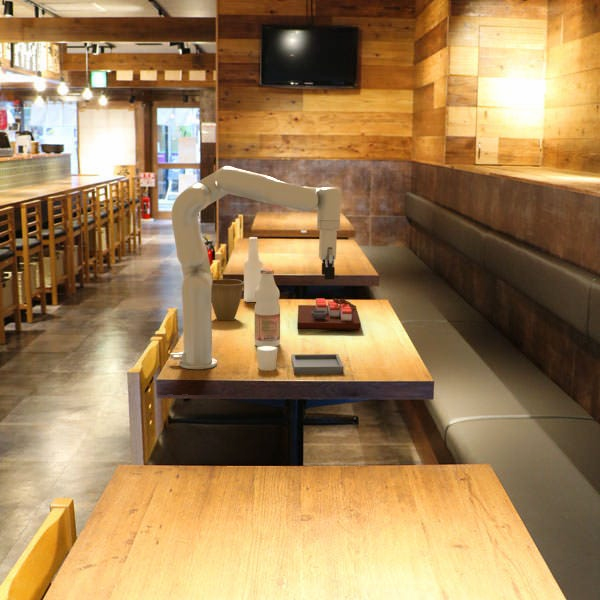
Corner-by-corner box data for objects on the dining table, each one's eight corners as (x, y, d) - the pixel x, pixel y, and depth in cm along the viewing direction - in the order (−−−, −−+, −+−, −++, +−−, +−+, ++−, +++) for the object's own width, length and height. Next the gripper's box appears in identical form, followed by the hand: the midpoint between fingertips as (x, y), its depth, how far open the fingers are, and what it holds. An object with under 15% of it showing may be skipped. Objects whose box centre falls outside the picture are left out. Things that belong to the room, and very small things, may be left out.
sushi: (355, 315, 361) (356, 288, 358) (360, 334, 326) (361, 304, 324) (298, 315, 361) (298, 288, 358) (297, 333, 326) (297, 303, 324)
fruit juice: (249, 344, 307) (248, 269, 302) (266, 340, 314) (266, 266, 309) (267, 349, 301) (267, 272, 296) (285, 344, 308) (285, 269, 302)
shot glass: (266, 364, 281) (266, 344, 279) (281, 367, 276) (281, 347, 275) (252, 368, 275) (252, 348, 274) (268, 372, 271) (268, 351, 270)
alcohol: (265, 300, 392) (265, 236, 386) (260, 303, 383) (259, 238, 377) (247, 299, 394) (246, 236, 388) (241, 302, 385) (241, 238, 379)
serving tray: (294, 374, 269) (294, 367, 268) (291, 361, 284) (291, 354, 284) (343, 373, 270) (343, 366, 269) (337, 361, 285) (338, 353, 285)
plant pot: (217, 324, 340) (217, 285, 337) (202, 317, 353) (202, 280, 350) (249, 320, 348) (249, 282, 345) (234, 314, 360) (234, 277, 357)
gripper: (314, 222, 281) (314, 272, 284) (319, 228, 264) (319, 281, 267) (337, 222, 282) (336, 272, 285) (343, 228, 265) (342, 281, 268)
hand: (328, 276), depth 276 cm, fingers open, 9 cm apart
